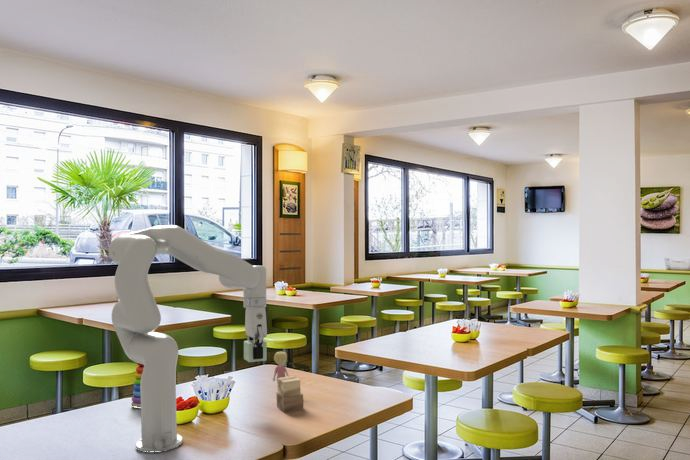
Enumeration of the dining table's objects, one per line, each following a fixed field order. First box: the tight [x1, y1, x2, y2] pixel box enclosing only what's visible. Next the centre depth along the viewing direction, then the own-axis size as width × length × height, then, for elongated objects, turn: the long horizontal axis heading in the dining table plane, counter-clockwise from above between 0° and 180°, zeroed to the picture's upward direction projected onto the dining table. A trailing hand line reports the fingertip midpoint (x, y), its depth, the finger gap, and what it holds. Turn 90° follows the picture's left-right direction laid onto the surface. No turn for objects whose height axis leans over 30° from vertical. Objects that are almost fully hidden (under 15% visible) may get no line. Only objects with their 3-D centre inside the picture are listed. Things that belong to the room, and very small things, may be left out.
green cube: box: [243, 339, 268, 363], centre depth 184 cm, size 6×6×6 cm
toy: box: [272, 351, 290, 385], centre depth 208 cm, size 7×5×15 cm
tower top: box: [276, 375, 302, 397], centre depth 188 cm, size 6×6×5 cm
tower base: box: [276, 392, 305, 413], centre depth 188 cm, size 7×7×5 cm
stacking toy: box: [130, 363, 144, 407], centre depth 194 cm, size 8×8×19 cm
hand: (255, 356), depth 184 cm, fingers closed on green cube, 6 cm apart
